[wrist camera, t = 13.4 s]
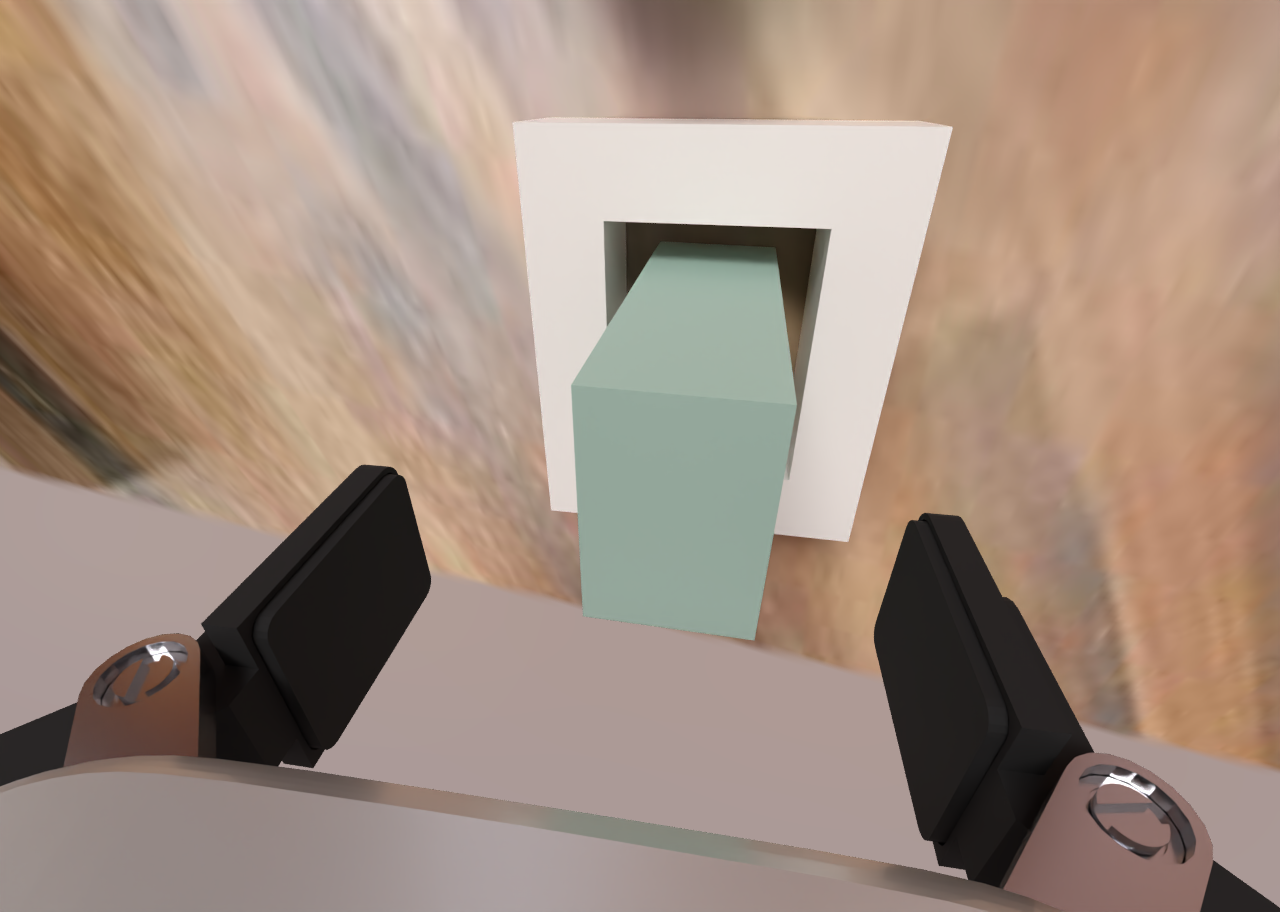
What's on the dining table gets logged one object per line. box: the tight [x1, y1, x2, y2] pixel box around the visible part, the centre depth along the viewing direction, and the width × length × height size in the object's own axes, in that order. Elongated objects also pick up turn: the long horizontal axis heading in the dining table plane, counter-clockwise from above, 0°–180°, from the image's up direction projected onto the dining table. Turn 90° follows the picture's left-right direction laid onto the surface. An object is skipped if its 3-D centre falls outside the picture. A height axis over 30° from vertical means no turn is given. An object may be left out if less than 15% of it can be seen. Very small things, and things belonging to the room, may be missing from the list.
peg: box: [571, 241, 797, 640], centre depth 17 cm, size 4×6×12 cm, turn 179°
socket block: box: [513, 117, 953, 542], centre depth 20 cm, size 12×14×4 cm
